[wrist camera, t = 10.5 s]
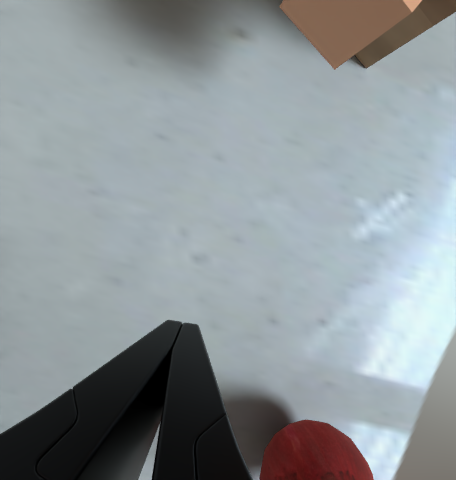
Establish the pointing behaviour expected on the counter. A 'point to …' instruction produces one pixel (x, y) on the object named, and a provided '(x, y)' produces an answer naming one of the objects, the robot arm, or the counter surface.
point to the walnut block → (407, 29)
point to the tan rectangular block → (345, 23)
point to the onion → (313, 454)
